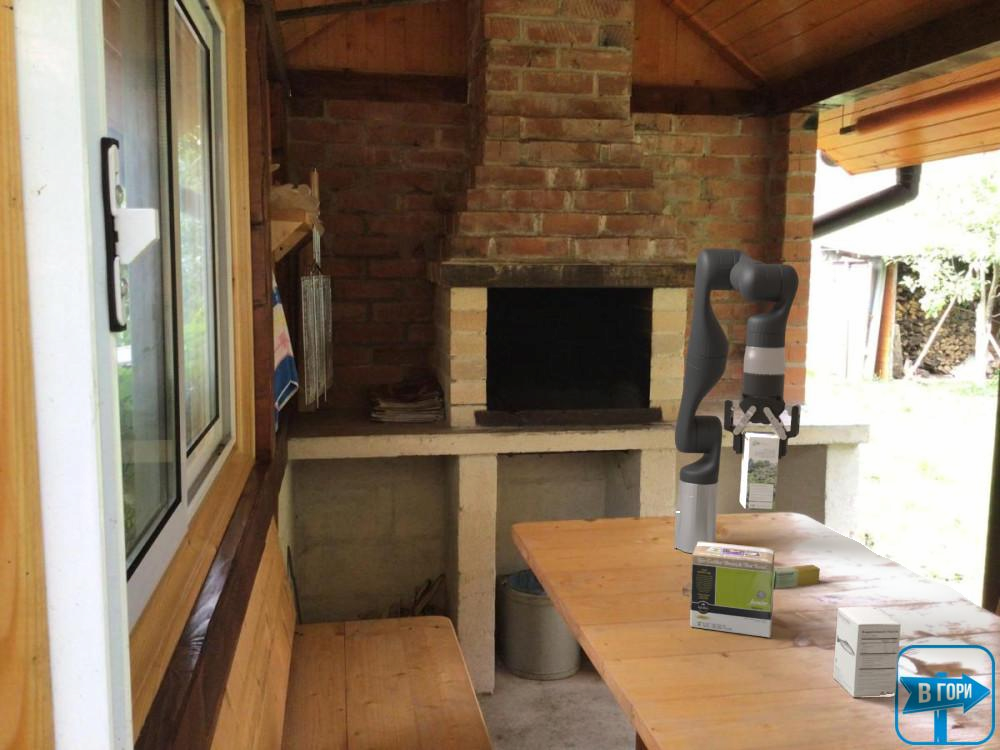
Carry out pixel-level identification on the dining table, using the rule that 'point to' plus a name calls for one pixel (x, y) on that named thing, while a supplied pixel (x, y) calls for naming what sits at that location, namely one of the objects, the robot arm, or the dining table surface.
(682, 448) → the robot arm
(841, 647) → the supplement box
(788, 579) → the medication box
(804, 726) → the dining table surface
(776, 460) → the syrup box
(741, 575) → the tea box
